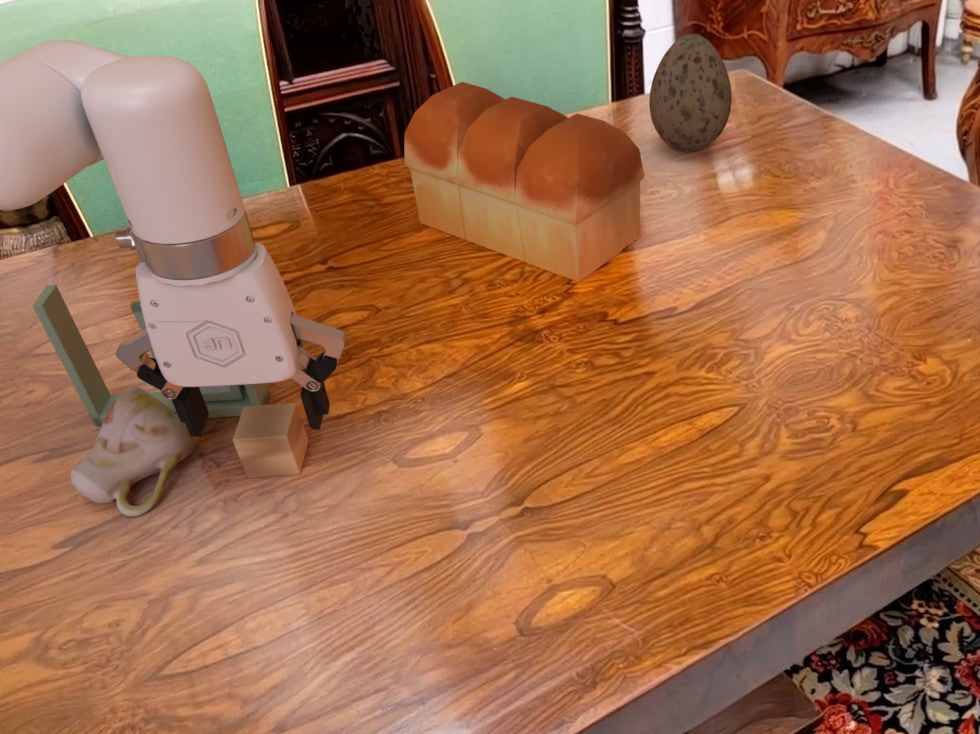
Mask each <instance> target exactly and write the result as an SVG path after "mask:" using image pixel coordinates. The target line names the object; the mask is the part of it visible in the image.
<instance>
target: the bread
mask: <svg viewBox="0 0 980 734" xmlns="http://www.w3.org/2000/svg"><path fill="white" fill-rule="evenodd" d="M403 138H404V141H403V142H404V143H403V145H404V149H403V150H404V153H403V155H404V159H403V160H404V161H403V163H404V165H405V167H407V168H408V169H409V170H410V171H409V172H410V176H411V182H412V186H413V187H412V188H413V192H414V197H415V203H416V210H417V214H418V219H419V223H420V224H421V225H424V226H427V227H429V228H432V229H435V230H438V231H440V232H443V233H445V234H447V235H451V236H453V237H456V238H459V239H462V240H464V241H467V242H470V243H472V244H475V245H478V246H480V247H483V248H485V249H488V250H491V251H494V252H496V253H498V254H502V255H505V256H507V257H510V258H512V259H515V260H518V261H519V262H522V263H525V264H528V265H531V266H533V267H536V268H538V269H539V268H540V269H542V270H544V271H547V272H550V273H552V274H555V275H557V276H560V277H563V278H565V279H569V280H571V281H574V282H576V283H580V282H581V281H583V280H584V279H586V278H587V277H588V276H590V275H591V274H593V273H594V272H595V271H596V270H598V269H599V268H600V267H602V266H603V265H605V264H606V263H607V262H609V261H611V260H612V259H613V258H614V257H616V256H617V255H618V254H620V253H622V251H624V250H625V249H626V248H625V247H626V246H628V245H629V246H631V245H630V243H632V242H633V241H635V239H637V238H638V237H640V236H641V237H642V233H641V231H642V230H641V182H642V181H643V180H644V178H645V171H644V167H643V161H642V156H641V151H640V148H639V147H638V146H637V145H636V144H635V142H634V141H633V140H632V139H631V137H630V136H629V135H628V134H627V132H624V130H621V129H620V128H617V127H616V126H614V125H613V124H611V123H609V122H607V121H605V120H603V119H599V118H595V117H591V116H588V115H584V114H581V113H574V114H573V115H571V116H570V117H568V116H567V115H565V114H563V113H561V112H559V111H557V110H555V109H553V108H551V107H549V106H547V105H544V104H541V103H536V102H533V101H529V100H526V99H522V98H520V97H519V98H518V97H515V96H510V97H508V98H505V97H502V96H500V95H499V94H497V93H496V92H493V91H492V90H490V89H488V88H486V87H482V86H479V85H475V84H471V83H468V82H464V81H460V82H458V83H456V84H454V85H452V86H449V87H448V88H445V89H442V90H441V91H439V92H437V93H434V94H432V95H431V96H430V97H429V98H428V99H427V100H426V101H425V102H423V103H422V104H421V105H420V107H418V108H417V109H416V110H415V111H414V113H413V115H412V117H411V119H410V121H409V123H408V125H407V127H406V129H405V131H404V137H403ZM641 237H640V238H641ZM637 240H638V239H637ZM635 242H636V241H635ZM633 243H634V242H633ZM633 243H632V244H633ZM629 246H628V247H629ZM624 248H625V249H624ZM623 249H624V250H623Z"/></svg>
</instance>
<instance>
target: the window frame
mask: <svg viewBox="0 0 980 734" xmlns="http://www.w3.org/2000/svg"><path fill="white" fill-rule="evenodd" d="M32 308H33V311H34V312H35V314H36V316H37V318H38V319H39V322H40V323H41V326H42V328H43V329H44V331H45V333H46V335H47V337H48V339H49V341H50V342H51V345H52V346H53V348H54V350H55V353H56V354H57V356H58V358H59V359H60V361H61V363H62V366H63V367H64V369H65V371H66V373H67V375H68V377H69V379H70V380H71V381H70V382H71V383H72V385H73V386H74V389H75V390H76V392H77V394H78V396H79V398H80V400H81V402H82V404H83V406H84V408H85V409H86V411H87V413H88V416H89V417H90V419H91V421H92V424H93V425H94V426H95V427H102V424H103V422H104V420H105V417H106V415H107V413H108V411H109V409H110V408H111V406H112V404H113V403H114V402H115V401H116V400H117V398H118V397H119V396H120V395H122V394H123V393H120V394H111V392H110V391H109V389H108V387H107V384H106V382H105V380H104V378H103V377H102V374H101V373H100V371H99V369H98V366H97V365H96V363H95V361H94V359H93V356H92V354H91V353H90V350H89V348H88V346H87V343H85V340H84V338H83V336H82V334H81V332H80V330H79V329H78V328H79V327H78V326H77V324H76V322H75V321H74V318H73V316H72V314H71V312H70V309H69V308H68V305H67V304H66V302H65V300H64V298H63V296H62V294H61V292H60V290H59V288H58V285H56V284H47V285H46V286H45V287H44V288H43V290H42V291H41V293H40V294H39V295H38V297H37V298H36V300H35V301H34V303H33V304H32ZM268 384H269V383H263V384H247V385H241V388H242V390H243V393H244V398H243V399H238V400H223V401H208V402H205V404H206V406H207V409H208V412H209V415H208V418H207V419H218V418H232V417H240V416H241V413H242V411H243V408H244V406H256V405H268V402H269V399H270V396H271V390H270V387H269V385H268ZM148 393H149V394H150V395H152V396H153V397H155V398H156V399H158V400H159V401H161V402H162V403H163V404H165V405H166V406H167V407H169V408H170V409H171V410H172V411H174V412H175V413H176V414H177V412H176V409H175V407H174V405H173V402H172V400H170V399H166V398H164V397H163V396H162V394H161V391H152V392H151V391H149V392H148ZM177 415H178V414H177Z"/></svg>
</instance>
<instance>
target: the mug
mask: <svg viewBox="0 0 980 734" xmlns="http://www.w3.org/2000/svg"><path fill="white" fill-rule="evenodd" d="M149 393H150V392H147V391H145V390H143V389H141V388H139V387H137V386H132V387H130V388H129V389H127V390H125V391H124V392H123V393H121V394H122V395H121V394H119V395H120V396H119V397H118V398H117V400H116V401H115V402H114V403H113V404H112V406H111V408H110V409H109V411H108V413H107V415H106V417H105V420H104V422H103V424H102V426H100V430H99V432H98V434H97V437H96V439H95V440H94V442H93V445H92V446H91V448H90V449H89V451H88V452H87V454H85V456H83V458H82V459H81V460H80V461H79V462H78V463H77V464H76V465H75V466H74V467H73V468H72V469H71V471H70V483H71V485H72V486H73V488H74V489H75V490H76V491H77V492H78V493H79V494H80V495H81V496H83V497H84V498H86V499H87V500H89V501H90V502H92V503H96V504H109V503H113V502H114V501H115V500H116V509H117V510H118V511H119V512H120V513H121V514H122V515H124V517H130V518H132V517H139V516H141V515H144V514H145V513H147V512H149V511H150V510H151V509H153V508H154V507H156V505H157V504H158V503H159V501H160V499H161V497H162V495H163V494H164V490H165V488H166V486H167V483H168V481H169V479H170V477H171V475H172V473H173V472H174V470H175V469H176V467H177V466H178V465H179V463H180V462H181V461H183V460H184V459H185V458H187V456H189V455H190V454H191V453H192V452H193V450H194V449H195V448H196V446H198V445H199V444H200V443H201V440H200V435H199V436H198V437H191V436H190V434H189V431H188V429H187V427H186V424H185V423H182V422H181V421H180V419H179V417H178V415H177V414H176V413H175V412H174V411H172V410H171V409H170V408H169V407H167V406H166V405H165V404H163V403H162V402H161V401H159V400H158V399H156V398H155V397H153V396H152V395H150V394H149ZM159 472H160V473H159ZM157 473H159V475H158V479H157V482H156V486H155V488H154V490H153V492H152V494H151V495H150V497H149V499H148V500H146V501H145V502H143V503H141V504H139V505H131V503H129V502H128V500H127V496H128V494H129V493H130V491H131V487H132V485H134V484H136V483H137V482H139V481H141V480H143V479H145V478H147V477H150V476H152V475H155V474H157Z"/></svg>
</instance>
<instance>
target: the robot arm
mask: <svg viewBox="0 0 980 734" xmlns="http://www.w3.org/2000/svg"><path fill="white" fill-rule="evenodd" d="M222 131H223V130H222V128H221V125H220V122H219V118H218V114H217V111H216V108H215V104H214V101H213V98H212V95H211V92H210V88H209V86H208V82H207V81H206V79H205V77H204V76H203V74H202V73H201V72H200V71H199V69H198V68H197V67H196V66H194V65H193V64H192V63H191V62H188V61H186V60H183V59H181V58H179V57H173V56H167V55H166V56H165V55H141V56H133V57H132V56H129V55H124V54H121V53H118V52H115V51H112V50H108V49H105V48H102V47H99V46H95V45H92V44H88V43H85V42H82V41H77V40H69V39H54V40H48V41H44V42H42V43H39V44H35V45H34V46H32V47H29V48H28V49H26V50H24V51H22V52H20V53H17V54H16V55H14V56H13V57H10V58H8V59H6V60H4V61H2V62H0V211H14V210H19V209H24V208H26V207H29V206H32V205H34V204H36V203H38V202H39V201H41V200H43V199H44V198H46V197H47V196H48V195H50V194H52V193H53V192H54V191H56V190H57V189H59V188H60V187H61V186H62V185H64V184H65V183H67V182H68V181H70V180H71V179H73V178H74V177H75V176H77V175H78V174H79V173H81V172H82V171H84V170H85V169H87V168H88V167H90V166H92V165H95V164H97V163H99V162H101V161H104V163H105V166H106V169H107V171H108V173H109V176H110V179H111V182H112V184H113V186H114V189H115V192H116V194H117V196H118V197H117V198H118V200H119V202H120V204H121V207H122V209H123V212H124V214H125V217H126V220H127V222H128V224H129V226H128V227H127V228H118V229H116V231H115V242H116V244H117V246H118V247H119V248H121V249H130V250H134V251H136V252H137V255H138V257H139V259H140V262H138V264H137V265H136V267H135V279H136V280H135V281H136V288H137V294H138V298H139V302H140V304H141V308H142V313H143V317H144V321H145V325H146V328H145V329H144V330H142V331H141V330H140V331H138V332H136V333H135V334H133V335H131V336H129V337H128V338H126V339H123V340H122V341H121V342H120V344H118V347H117V348H116V350H115V353H114V354H115V357H116V358H117V359H118V360H120V361H121V362H122V363H123V364H124V365H125V366H126V367H128V368H129V369H130V370H131V371H134V372H135V373H136V376H137V378H138V379H139V380H141V381H142V382H144V383H146V384H147V385H150V386H152V387H154V388H155V389H158V390H159V391H160V392H161V394H162V396H163V397H164V398H166V399H170V400H172V402H173V405H174V407H175V409H176V412H177V414H178V417H179V419H180V421H181V422H182V423H185V424H186V427H187V429H188V431H189V434H190V436H191V437H198V436H199V437H200V436H201V435H202V433H203V431H204V428H205V425H206V423H207V420H208V419H209V418H208V415H209V412H208V409H207V406H206V404H205V401H204V399H203V396H202V394H201V391H200V389H199V387H208V386H228V385H247V384H263V383H267V384H275V383H282V382H285V381H288V380H292V381H293V382H295V383H296V384H298V385H299V386H300V387H301V389H300V400H301V402H302V406H303V409H304V412H305V416H306V419H307V423H308V426H309V428H310V429H311V430H312V431H318V430H321V427H322V423H323V418H324V416H326V415H327V416H328V415H329V413H330V399H329V396H328V393H327V389H326V385H325V381H326V380H327V379H328V378H329V377H330V376H331V375H332V374H333V373H334V372H335V371H336V370H337V366H338V363H339V361H340V358H341V356H342V353H343V350H344V348H345V346H346V342H347V332H345V331H344V330H342V329H338V328H336V327H332V326H330V325H327V324H323V323H320V322H318V321H315V320H312V319H309V318H306V317H303V316H300V315H298V313H297V311H296V309H295V306H294V304H293V301H292V298H291V296H290V293H289V291H288V288H287V286H286V284H285V282H284V280H283V279H284V278H283V277H282V276H281V273H280V271H279V269H278V268H277V266H276V264H275V262H274V260H273V258H272V256H271V255H270V252H268V250H267V248H266V246H265V245H264V244H263V243H262V242H257V241H255V239H254V235H253V232H252V228H251V225H250V222H249V219H248V215H247V212H246V209H245V205H244V202H243V198H242V195H241V191H240V187H239V185H238V181H237V178H236V174H235V171H234V168H233V165H232V162H231V158H230V154H229V152H228V148H227V144H226V142H225V141H226V140H225V138H224V135H223V132H222ZM304 341H305V342H307V343H311V344H314V345H317V346H320V347H322V348H323V349H324V350H323V352H321V354H319V356H317V357H316V355H314V354H312V353H311V352H310V351H308V350H307V349H305V348H304V347H303V346H304V343H305V342H304ZM151 349H153V352H154V355H155V358H156V359H154V358H153V357H151V356H149V354H148V353H147V352H150V350H151Z"/></svg>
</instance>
